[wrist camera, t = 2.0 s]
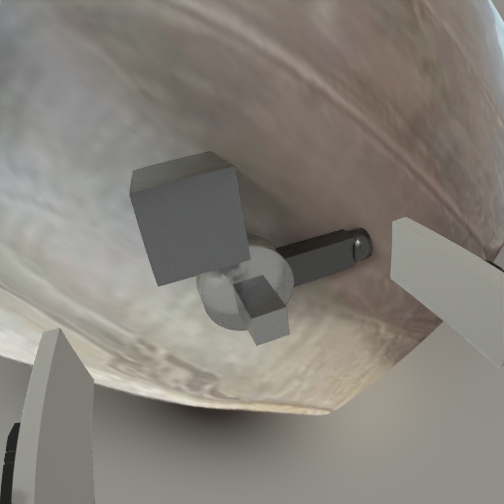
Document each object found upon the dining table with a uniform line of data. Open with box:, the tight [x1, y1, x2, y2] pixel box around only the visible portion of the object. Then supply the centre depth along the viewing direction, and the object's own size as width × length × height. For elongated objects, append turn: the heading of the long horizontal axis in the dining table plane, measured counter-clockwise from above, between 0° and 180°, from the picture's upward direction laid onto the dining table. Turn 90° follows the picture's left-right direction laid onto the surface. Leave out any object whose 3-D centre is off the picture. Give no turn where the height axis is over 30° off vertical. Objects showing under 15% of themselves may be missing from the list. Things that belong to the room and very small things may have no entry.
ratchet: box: [197, 228, 373, 346], centre depth 31 cm, size 19×9×10 cm, turn 100°
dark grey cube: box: [129, 151, 251, 287], centre depth 25 cm, size 7×7×8 cm
